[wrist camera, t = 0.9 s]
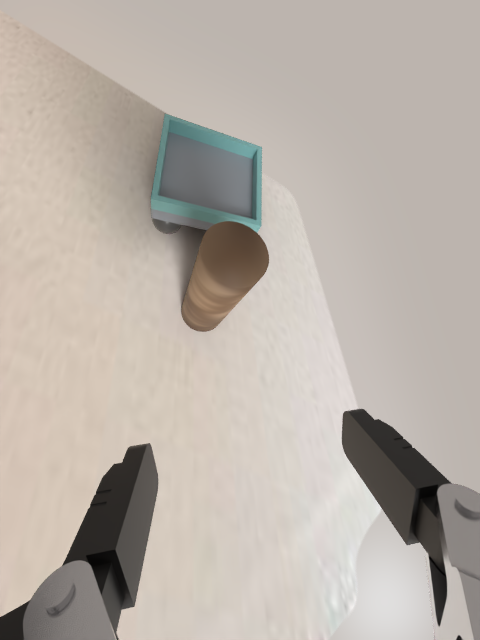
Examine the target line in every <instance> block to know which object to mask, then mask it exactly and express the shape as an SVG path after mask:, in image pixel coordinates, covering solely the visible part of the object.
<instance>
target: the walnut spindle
mask: <svg viewBox="0 0 480 640" xmlns="http://www.w3.org/2000/svg"><path fill="white" fill-rule="evenodd" d="M268 263H269V254H268V250H267V247H266V245H265V243H264V241H263V240H262V238H261V237H260V236H259V235H258V234H257V233H256V232H255V231H254V230H253V229H251V228H250V227H248V226H246V225H244V224H242V223H238V222H234V221H224V222H220V223H217V224H215V225H213V226H211V227H210V228H209V229H208V230H207V231H206V232H205V234H204V236H203V238H202V241H201V245H200V248H199V251H198V255H197V258H196V261H195V265H194V268H193V271H192V275H191V278H190V281H189V285H188V288H187V291H186V295H185V298H184V301H183V305H182V309H181V312H182V317H183V320H184V321H185V323H186V324H187V325H188V326H189V327H190V328H192V329H194V330H196V331H202V332H204V331H209V330H212V329H214V328H215V327H216V326H217V325H218V324H219V323H220V322H221V321H222V320H223V319H224V318H225V317H226V316H227V314H228V313H229V312H230V311H231V310H232V309H233V308H234V307H235V306H236V305H237V304H238V302H239V301H240V300H241V299H242V298H243V297H244V296H245V295H246V294H247V293H248V292H249V290H250V289H251V288H252V287H253V286H254V285H255V284H256V283H257V282H258V281H259V280H260V278H261V277H262V276H263V275H264V274H265V272H266V270H267V267H268Z"/></svg>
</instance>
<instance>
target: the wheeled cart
mask: <svg viewBox="0 0 480 640" xmlns="http://www.w3.org/2000/svg"><path fill="white" fill-rule="evenodd" d="M261 191H262V147H260V146H257V145H254V144H251V143H248V142H246V141H242V140H240V139H237V138H234V137H231V136H228V135H225V134H223V133H220V132H217V131H214V130H211V129H208V128H205V127H202V126H199V125H196V124H194V123H191V122H188V121H185V120H182V119H179V118H176V117H173V116H171V115H168V114H165V117H164V123H163V129H162V135H161V141H160V147H159V153H158V159H157V165H156V171H155V177H154V183H153V189H152V195H151V218H152V221H153V223H154V225H155V227H156V228H157V229H158V230H159V231H161V232H163V233H166V234H171V233H174V232H176V231H177V230H178V229H179V228H180V227H181V225H185V226H190V227H194V228H199V229H203V230H208V229H209V228H210V227H211V226H213V225H215V224H217V223H220V222H224V221H234V222H238V223H242V224H244V225H246V226H248V227H250V228H251V229H253V230H254V231H255V232H256V233H257V232H258V230H259V229H260V227H261Z"/></svg>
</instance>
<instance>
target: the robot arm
mask: <svg viewBox="0 0 480 640" xmlns="http://www.w3.org/2000/svg"><path fill="white" fill-rule="evenodd" d="M342 445H343V449H344V452H345V454H346V456H347V458H348V459H349V461H350V462H351V464H352V465H353V467H354V468H355V470H356V471H357V473H358V474H359V475H360V477H361V478H362V480H363V481H364V483H365V484H366V486H367V487H368V489H369V490H370V492H371V493H372V495H373V496H374V497H375V499H376V500H377V502H378V503H379V505H380V506H381V508H382V509H383V511H384V512H385V514H386V515H387V517H388V518H389V519H390V521H391V522H392V524H393V525H394V527H395V528H396V530H397V531H398V533H399V534H400V536H401V537H402V539H403V540H404V542H405V543H406V544H407V545H410V544H415V543H419V542H420V543H421V544H422V546H423V547H424V549H425V550H426V555H425V556H426V557H425V558H426V567H427V576H428V585H429V593H430V602H431V611H432V619H433V628H434V640H480V494H479V493H477V492H476V491H474V490H472V489H469V488H467V487H465V486H462V485H458V484H452V483H451V482H449V481H448V480H447V479H446V478H445V477H444V476H443V475H442V474H441V473H440V472H439V471H438V470H437V469H436V468H435V467H434V466H432V465H431V463H429V462H428V461H427V460H426V459H425V458H424V457H423V456H422V455H421V454H420V453H419V452H418V451H417V450H416V449H415V448H412V445H411V444H409V443H408V442H407V441H406V440H405V439H403V437H402V436H401V435H400V434H399V433H398V432H397V431H396V430H395V429H394V428H393V427H391V426H389V425H388V424H386V423H384V422H382V421H381V420H379V419H378V420H374V419H373V418H372V417H371V416H370V415H369V414H368V413H367V412H366V411H365V410H364V409H357V410H351V411H345V412H344V413H343V425H342ZM157 491H158V473H157V469H156V464H155V460H154V456H153V451H152V447H151V445H150V443H148V444H142V445H136V446H130V447H129V448H128V449H127V452H126V454H125V457H124V459H123V462H122V463H118V464H114V465H113V466H112V467H111V468H110V469H109V471H108V472H107V473H106V474H105V475H104V476H103V478H102V480H101V482H100V484H99V487H98V489H97V491H96V495H95V496H94V498H93V500H92V502H91V504H90V508H89V509H88V511H87V513H86V515H85V518H84V520H83V522H82V524H81V526H80V529H79V531H78V533H77V535H76V537H75V540H74V542H73V544H72V546H71V548H70V551H69V553H68V555H67V557H66V559H65V561H64V563H63V565H62V567H60V568H59V569H57V570H56V571H54V572H53V573H52V574H51V575H50V576H49V577H48V578H47V579H46V580H45V581H44V582H43V583H42V584H41V585H40V587H39V588H38V589H37V591H36V592H35V593H34V595H33V597H32V598H31V600H30V601H28V602H27V603H25V604H23V605H22V606H20V607H18V608H16V609H14V610H13V611H11V612H9V613H7V614H5V615H4V616H2V617H0V640H119V638H118V635H117V632H116V631H117V627H118V622H119V618H120V614H121V610H122V609H126V608H130V607H134V606H135V601H136V596H137V591H138V586H139V581H140V576H141V571H142V566H143V561H144V556H145V551H146V546H147V541H148V536H149V531H150V526H151V521H152V516H153V511H154V506H155V501H156V496H157Z"/></svg>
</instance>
